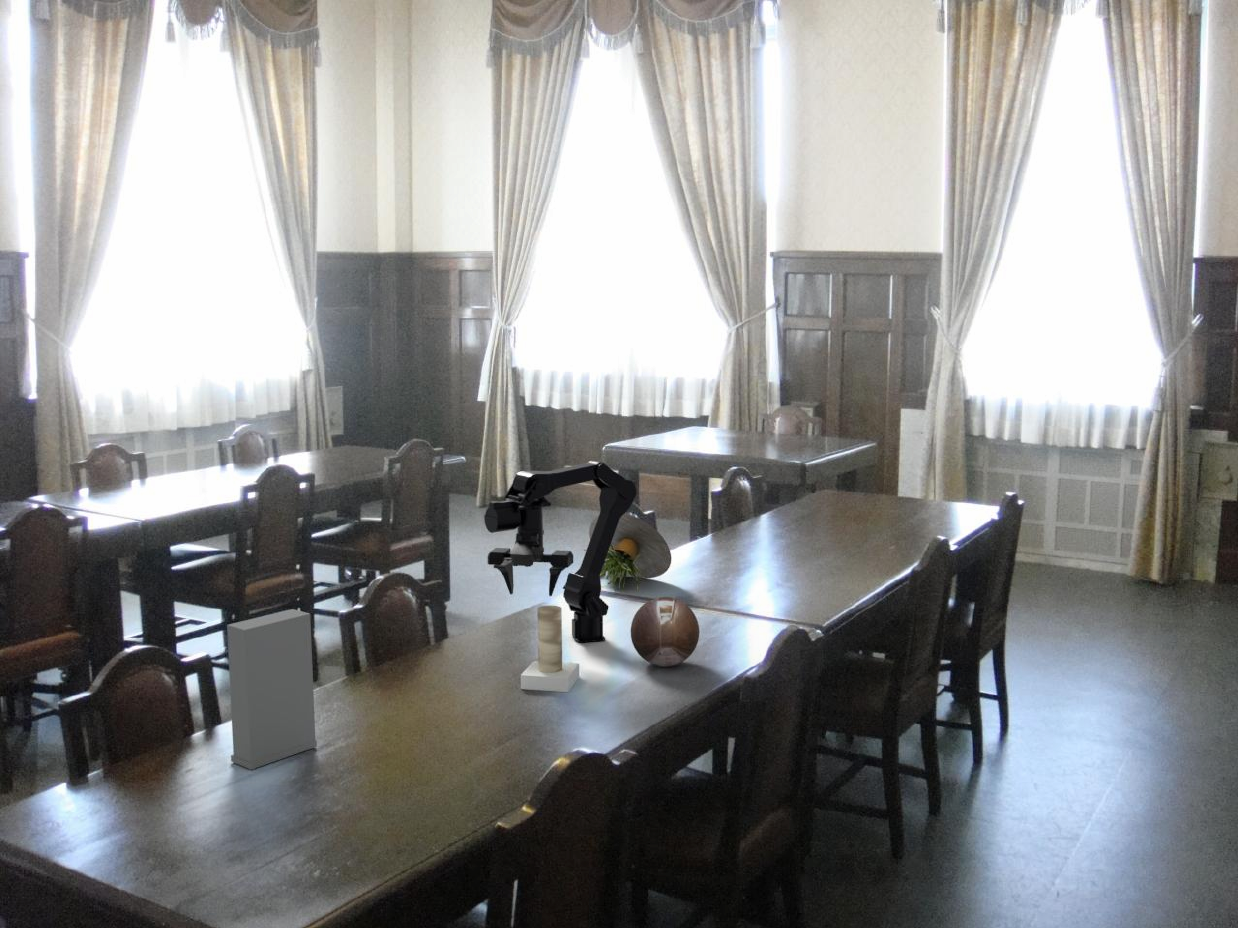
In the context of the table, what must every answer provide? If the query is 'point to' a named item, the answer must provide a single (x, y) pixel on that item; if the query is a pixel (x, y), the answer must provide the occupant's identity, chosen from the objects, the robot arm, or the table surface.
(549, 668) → the birch column
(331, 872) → the table surface
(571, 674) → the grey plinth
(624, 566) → the potted plant
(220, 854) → the table surface
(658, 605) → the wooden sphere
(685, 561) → the table surface
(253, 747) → the upright grey box
